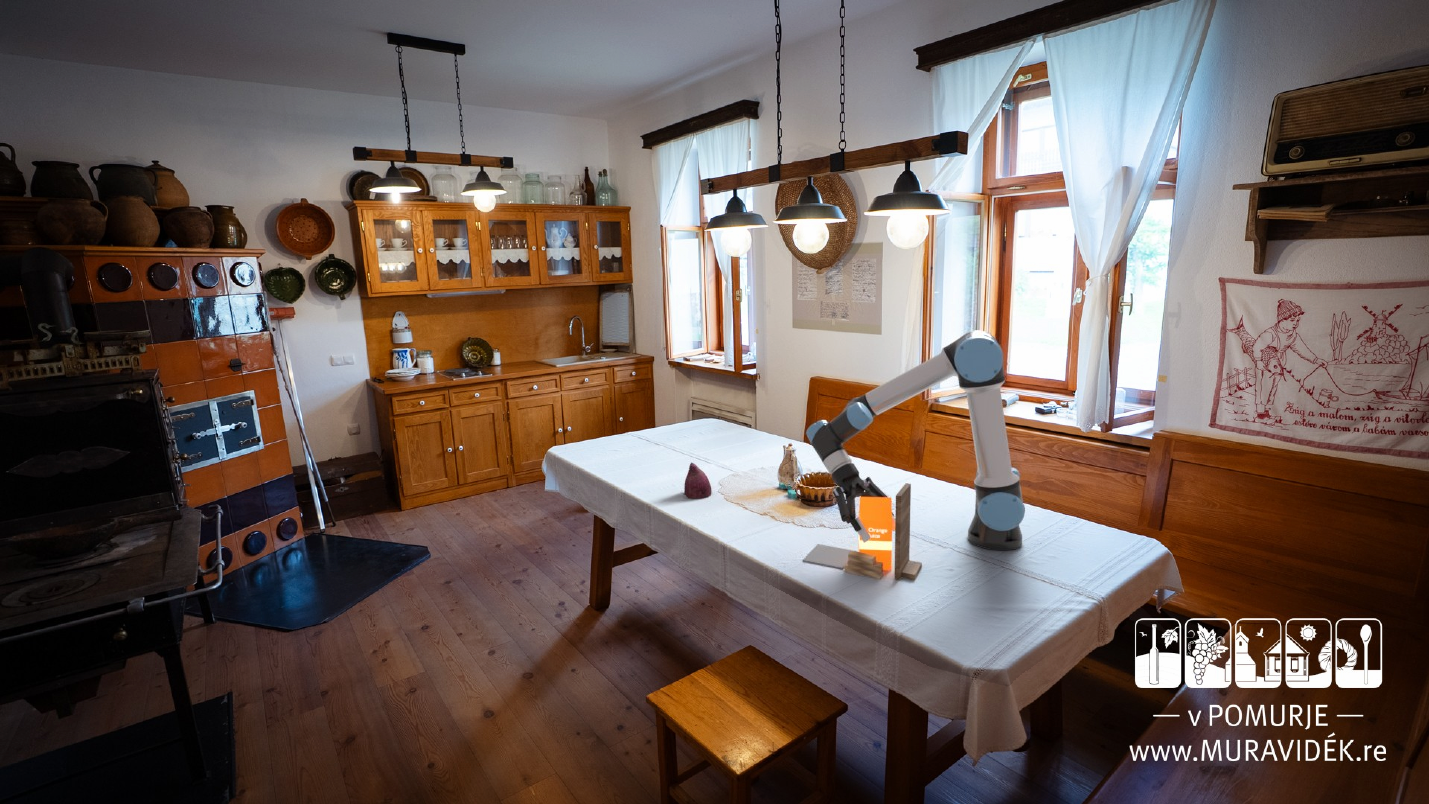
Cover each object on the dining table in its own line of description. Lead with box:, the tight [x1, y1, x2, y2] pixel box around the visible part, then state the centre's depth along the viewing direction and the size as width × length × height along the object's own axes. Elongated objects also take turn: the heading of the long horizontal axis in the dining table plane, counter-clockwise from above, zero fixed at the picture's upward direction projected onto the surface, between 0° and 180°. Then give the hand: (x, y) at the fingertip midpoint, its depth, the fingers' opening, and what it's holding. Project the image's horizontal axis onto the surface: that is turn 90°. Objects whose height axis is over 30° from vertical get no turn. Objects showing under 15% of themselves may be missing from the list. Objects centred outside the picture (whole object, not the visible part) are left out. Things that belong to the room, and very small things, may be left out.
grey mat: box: [802, 543, 852, 570], centre depth 195 cm, size 12×12×1 cm
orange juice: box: [858, 496, 893, 571], centre depth 187 cm, size 8×9×20 cm
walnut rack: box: [843, 482, 923, 581], centre depth 183 cm, size 18×12×24 cm, turn 60°
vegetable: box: [683, 462, 713, 500], centre depth 248 cm, size 10×10×15 cm
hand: (882, 534), depth 185 cm, fingers closed on orange juice, 11 cm apart
